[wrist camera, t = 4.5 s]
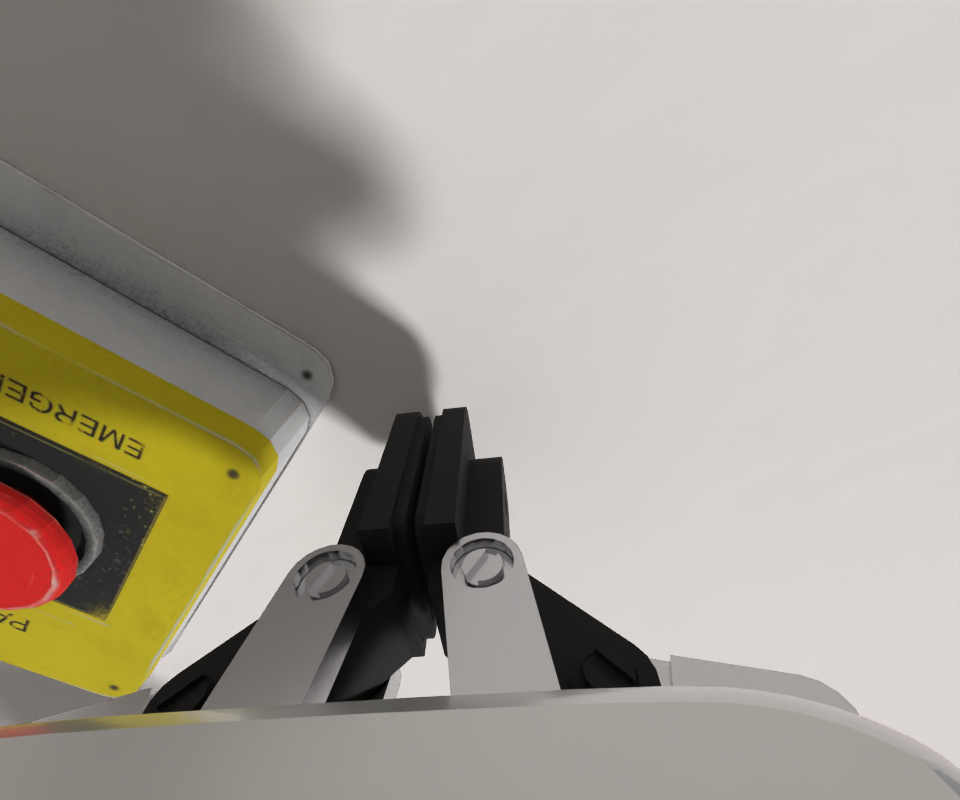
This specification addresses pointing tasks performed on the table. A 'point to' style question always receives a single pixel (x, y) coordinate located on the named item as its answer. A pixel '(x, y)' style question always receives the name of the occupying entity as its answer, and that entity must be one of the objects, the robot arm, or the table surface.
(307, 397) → the emergency button
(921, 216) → the table surface
